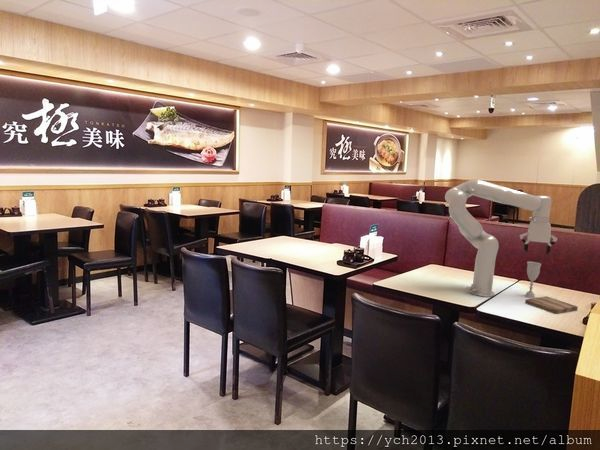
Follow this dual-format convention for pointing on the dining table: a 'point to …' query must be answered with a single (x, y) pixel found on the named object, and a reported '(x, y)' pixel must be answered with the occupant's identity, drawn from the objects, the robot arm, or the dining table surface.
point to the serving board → (551, 305)
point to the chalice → (532, 276)
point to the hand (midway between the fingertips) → (536, 252)
